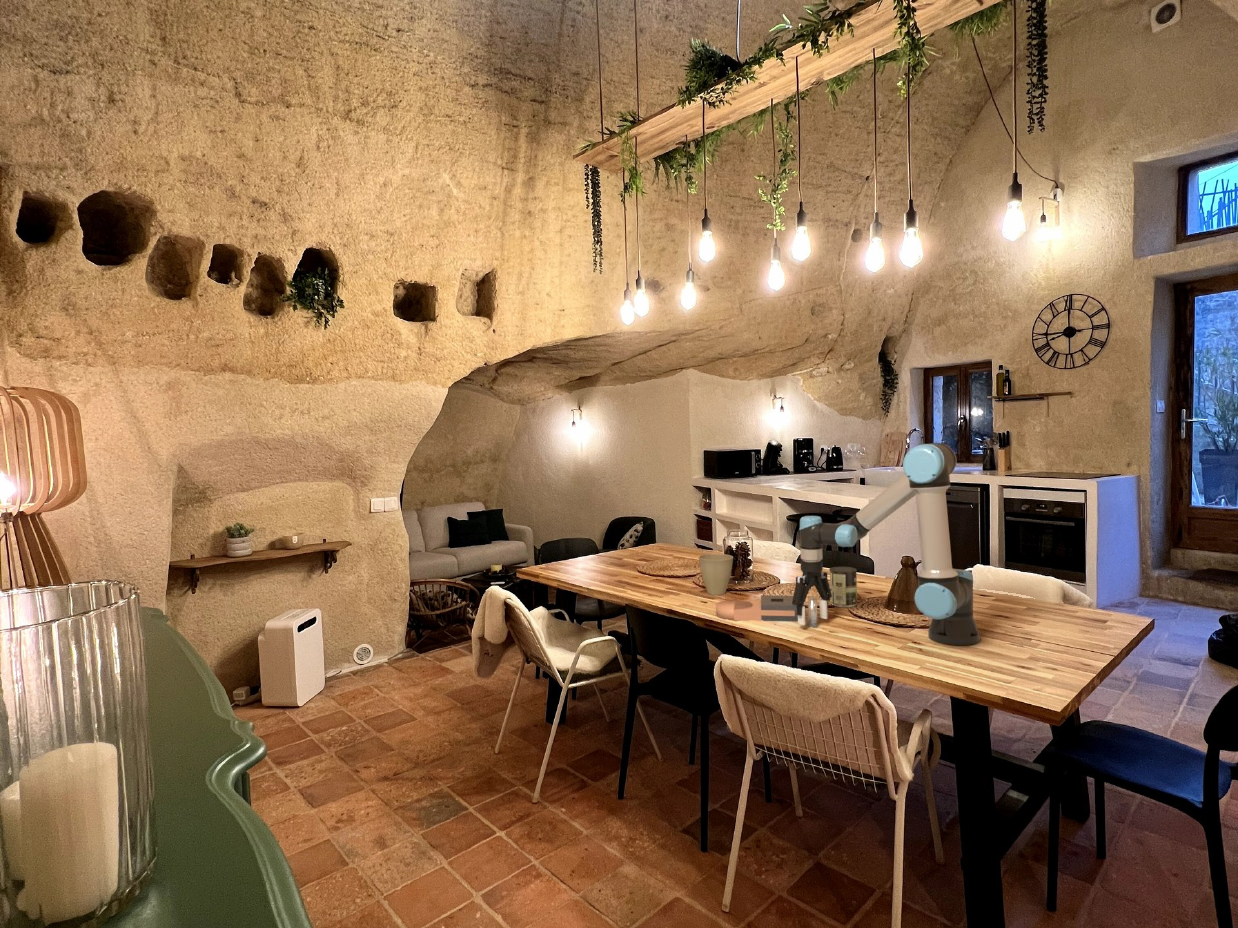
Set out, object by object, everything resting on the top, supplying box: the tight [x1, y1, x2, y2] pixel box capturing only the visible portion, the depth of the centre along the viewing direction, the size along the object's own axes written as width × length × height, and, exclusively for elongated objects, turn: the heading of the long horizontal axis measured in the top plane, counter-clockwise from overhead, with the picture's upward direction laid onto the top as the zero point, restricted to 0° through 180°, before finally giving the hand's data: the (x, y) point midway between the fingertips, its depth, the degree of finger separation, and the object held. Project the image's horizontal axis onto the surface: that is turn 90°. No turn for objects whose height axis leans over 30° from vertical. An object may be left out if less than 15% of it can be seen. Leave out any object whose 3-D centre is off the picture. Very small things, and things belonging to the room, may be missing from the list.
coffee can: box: [829, 566, 858, 608], centre depth 274 cm, size 10×10×14 cm
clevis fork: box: [760, 594, 801, 622], centre depth 261 cm, size 14×15×6 cm
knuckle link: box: [715, 599, 795, 622], centre depth 263 cm, size 14×29×4 cm, turn 78°
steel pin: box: [807, 597, 818, 629], centre depth 246 cm, size 3×3×10 cm
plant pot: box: [698, 553, 734, 596], centre depth 299 cm, size 15×15×16 cm
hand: (812, 621), depth 246 cm, fingers open, 11 cm apart
